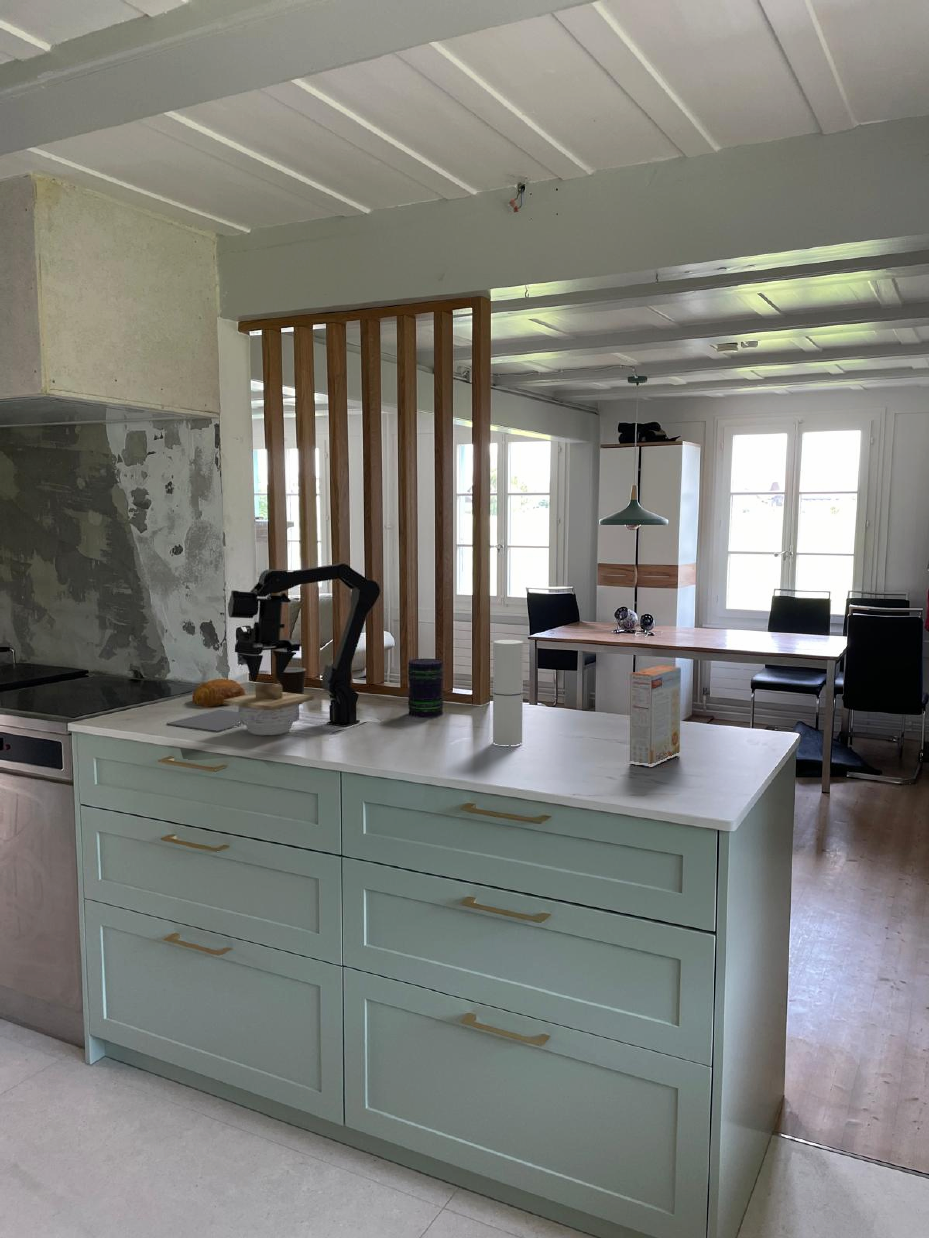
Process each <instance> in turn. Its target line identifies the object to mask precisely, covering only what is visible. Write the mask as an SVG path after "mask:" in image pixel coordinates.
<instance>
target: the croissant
mask: <svg viewBox="0 0 929 1238" xmlns="http://www.w3.org/2000/svg"><path fill="white" fill-rule="evenodd" d="M243 695H246V691H245V689H244V687H243V686H242V685H241V684H240V683H238V682H237V681H236V680H233V679H229V678H228V679H226V678H217V679H212V680H211V679H210V680H208V681H206V682H203V683H201V684H199V685H198V686H197V687H196V688H195V689H194V692H193V693H192V698H191V699H192V703H194V705H197V706H202V707H207V708H209V707H211V706H212V707H217V706H218V705H219V706H226V705H227V704H223V700H226V699H230V698H234V697H239V696H243ZM219 706H218V707H219Z"/></svg>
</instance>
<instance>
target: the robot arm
mask: <svg viewBox="0 0 929 1238" xmlns="http://www.w3.org/2000/svg"><path fill="white" fill-rule="evenodd" d="M332 580H340V581H341V582H342V583H343V584H344V585H345V586H346V587H347V588H348V589H350V602H349V603H350V611H349V615H348V616H347V617H348V618H347V620H346V623H345V627H344V630H343V633H342V637H341V639H340V642H339V646H338V650H337V652H336V655H335V659H334V661H333V662H332V663H331V665H328V664H325V665H324V669H323V674H322V676H321V677H320V680H322V681H321V687H322V689H323V690H324V691H325V692H326V693H327V694H328V696H329V698H330V699H331V700H330V704H329V705H328V706H329V711H328V712H329V720H328V721H327V723H326V724H327V725H332V726H333V725H335V726H340V727H341V726H342V727H349V726H352V725H355V724H358V723H360V722H361V720H360V719H357V702H358V699H359V697H360V695H359V693H357V691H355V690H354V689H353V688H352V687H351V685H352V684H351V683H352V676H353V675H352V664H353V661H354V658H355V653H356V650H357V648H358V645H359V642H360V641H359V640H360V638H361V635H362V632H363V628H364V626H365V622H366V619H367V616H368V614H369V613H370V612H371V610H372V609H373V607H374V606H375V605H376V602H377V600H378V598H379V596H380V595H381V587H380V585H379V583H378V582H377V581H375V580H373V579H367V578H366V577H365V576H363V575H362V574H361V573H359V572H358V571H357V570H354V569H353V567H351V566H350V565H348V564H347V563H344V562H337V563H335V564H328V565H321V566H316V567H309V568H308V567H307V568H302V569H296V570H295V569H292V570H291V569H289V570H288V569H265V570H264V571H262V572H261V574H260V575H259V577H258V582H257V583H256V584H255V585H254V587H253V588H252V589H251V590H250V591H239V590H234V589H233V590H231V593H230V597H229V600H228V601H229V602H228V603H227V613H228V617H229V618H233V619H234V618H235V619H253V618H254V616H257V615H258V621H255V622H254V623H253V627H251V628H248V629H247V628H246V626H239V627H236V630H235V638H236V640H237V641H236V643H235V644H234V653H237V654H238V656H240V657H242V658H243V659H244V661H245V664H246V666H247V669H248V672H249V673H248V674H249V677H250V679H251V682H257V679H258V677H259V672H260V669H261V665H262V662H263V658H264V655H263V654H262V653H263V651H270V650H272V654H273V655H274V658H275V678H276V679H277V678H278V679H280V678H281V676H282V674H283V672H284V671H285V669H286V668H288V665H289V663H291V660H292V659H293V657H294V656H295V655H297V652H300V647H301V643H300V641H299V640H298V639H292V638H287V637H285V638H282V637H281V631H282V629H285V623H282V615H283V603H291V601H292V600H291V599H290V598H289V597H288V596H287V594H286V592H285V591H288V590H290V589H292V588H295V587H298V586H300V585H306V584H307V585H308V584H313V583H314V584H315V583H320V582H326V581H332ZM279 593H280V594H279ZM275 594H276V595H275ZM278 594H279V595H278ZM259 597H260V598H259ZM261 597H262V598H261ZM265 597H266V598H265Z"/></svg>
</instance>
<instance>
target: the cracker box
mask: <svg viewBox="0 0 929 1238" xmlns="http://www.w3.org/2000/svg"><path fill="white" fill-rule="evenodd" d="M681 670H682V668H681V666H680V667H679V666H678V667H677V666H672V665H671V666H670V665H664V664H661V665H657V666H652V667H649V668H646V669H642V670H638V671H635V672H631V673H630V674H629V679H630V684H629V687H630V689H629V690H630V691H629V693H630V697H629V698H630V699H629V701H630V702H629V706H630V708H629V714H630V715H629V762H630V761H634V762H639V763H648V764H652V763H656V762H658V761H660V760H663V759H665V758H667V757H668V756H672V755H674V754H676V753H679V752H680V751H681V746H680V745H681V743H680V741H681V690H682V689H681V687H682V686H681V685H682V684H681V681H682V680H681V679H682V678H681V677H682V671H681Z"/></svg>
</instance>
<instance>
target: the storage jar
mask: <svg viewBox="0 0 929 1238" xmlns="http://www.w3.org/2000/svg"><path fill="white" fill-rule="evenodd" d="M407 663H408V668H407V675H408V676H407V679H408V681H407V682H409V683H408V684H409V688H408V689H409V692H408V701H407V703H408V704H407V706H408V716H410V717H414V718H421V719H423V718H424V719H426V718H428V719H429V718H437V717H441V716H443V714H444V711H443V709H444V695H443V681H444V666H443V665H444V660H442V659H438V658H437V659H436V658H414V659H410V660H408V662H407Z"/></svg>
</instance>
